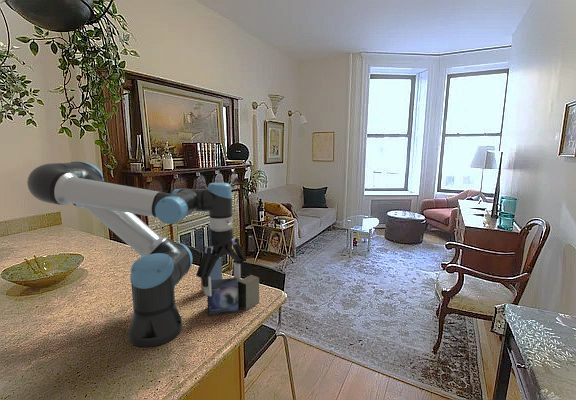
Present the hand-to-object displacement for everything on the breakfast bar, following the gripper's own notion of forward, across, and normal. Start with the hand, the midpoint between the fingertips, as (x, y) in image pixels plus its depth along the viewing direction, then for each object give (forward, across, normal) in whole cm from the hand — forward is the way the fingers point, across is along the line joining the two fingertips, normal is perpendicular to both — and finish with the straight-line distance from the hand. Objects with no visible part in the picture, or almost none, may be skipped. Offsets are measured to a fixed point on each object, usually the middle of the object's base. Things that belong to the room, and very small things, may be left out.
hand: (223, 287), depth 103 cm
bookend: (+9, +8, -5) cm, 12 cm away
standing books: (+8, +8, +16) cm, 19 cm away
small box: (+9, 0, 0) cm, 9 cm away
